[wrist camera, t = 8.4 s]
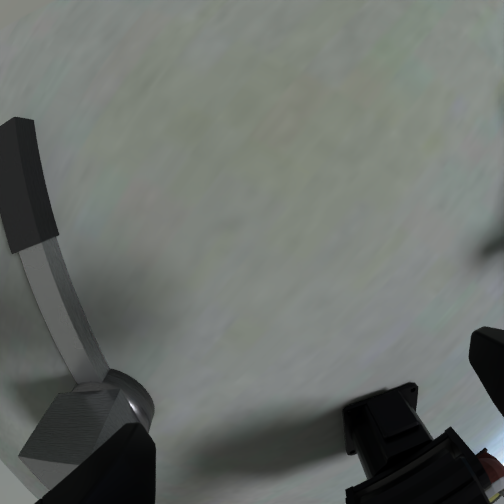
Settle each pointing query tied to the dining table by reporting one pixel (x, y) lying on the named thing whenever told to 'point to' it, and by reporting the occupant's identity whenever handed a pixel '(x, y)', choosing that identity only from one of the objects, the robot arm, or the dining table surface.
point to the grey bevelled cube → (74, 432)
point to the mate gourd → (493, 475)
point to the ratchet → (53, 267)
